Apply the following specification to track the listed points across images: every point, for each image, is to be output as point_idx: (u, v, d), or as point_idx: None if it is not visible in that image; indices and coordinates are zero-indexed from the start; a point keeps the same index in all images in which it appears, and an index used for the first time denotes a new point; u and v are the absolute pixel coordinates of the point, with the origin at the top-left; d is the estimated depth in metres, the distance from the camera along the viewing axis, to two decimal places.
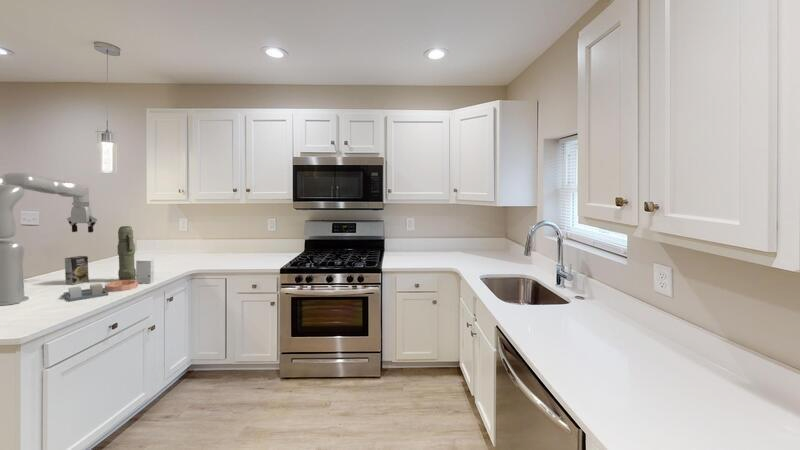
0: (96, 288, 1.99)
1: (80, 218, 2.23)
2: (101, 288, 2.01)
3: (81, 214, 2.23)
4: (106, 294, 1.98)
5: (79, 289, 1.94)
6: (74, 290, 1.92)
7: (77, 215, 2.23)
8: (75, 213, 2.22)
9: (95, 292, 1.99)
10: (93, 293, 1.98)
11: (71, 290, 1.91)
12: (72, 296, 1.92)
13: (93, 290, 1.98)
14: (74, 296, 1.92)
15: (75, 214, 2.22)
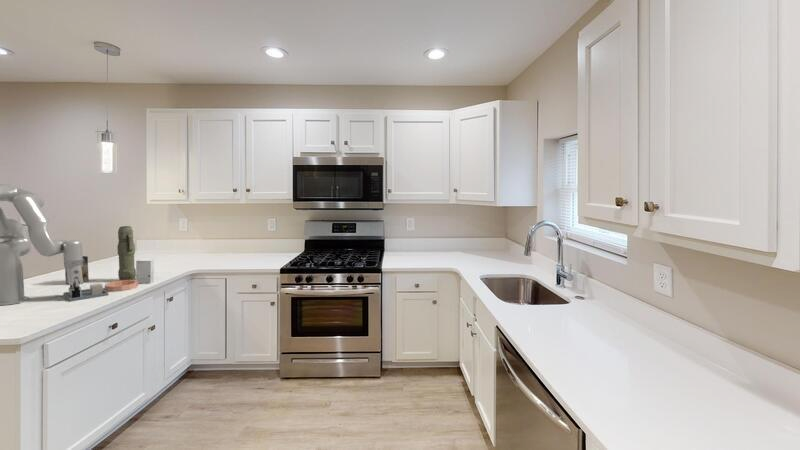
0: (96, 288, 1.99)
1: None
2: (101, 288, 2.01)
3: None
4: (106, 294, 1.98)
5: None
6: None
7: None
8: None
9: (95, 292, 1.99)
10: (93, 293, 1.98)
11: (71, 290, 1.91)
12: None
13: (93, 290, 1.98)
14: None
15: None
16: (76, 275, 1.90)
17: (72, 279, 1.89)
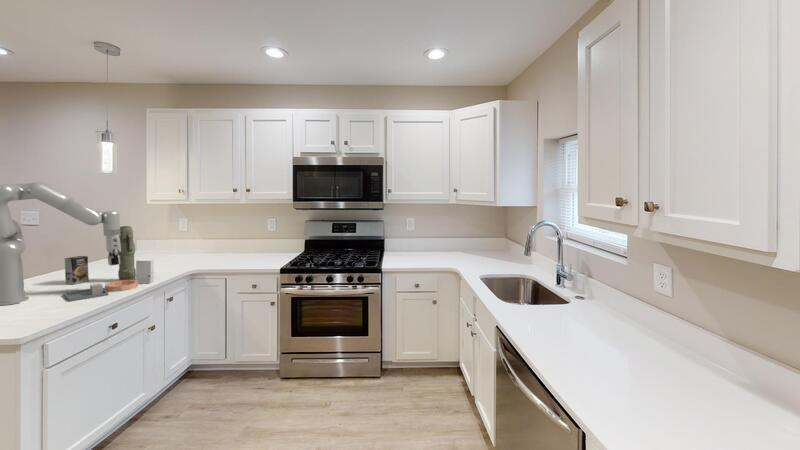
0: (96, 288, 1.99)
1: None
2: (101, 288, 2.01)
3: None
4: (106, 294, 1.98)
5: (118, 257, 2.08)
6: None
7: None
8: None
9: (95, 292, 1.99)
10: (93, 293, 1.98)
11: (111, 257, 2.05)
12: None
13: (93, 290, 1.98)
14: None
15: None
16: (115, 243, 2.04)
17: (111, 247, 2.03)
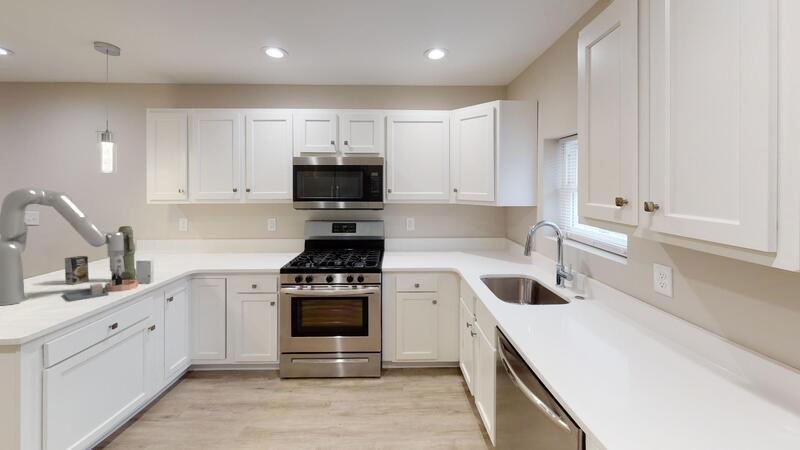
0: (96, 288, 1.99)
1: None
2: (101, 288, 2.01)
3: None
4: (106, 294, 1.98)
5: None
6: None
7: None
8: None
9: (95, 292, 1.99)
10: (93, 293, 1.98)
11: (114, 282, 2.08)
12: None
13: (93, 290, 1.98)
14: None
15: None
16: (118, 264, 2.06)
17: (115, 267, 2.05)
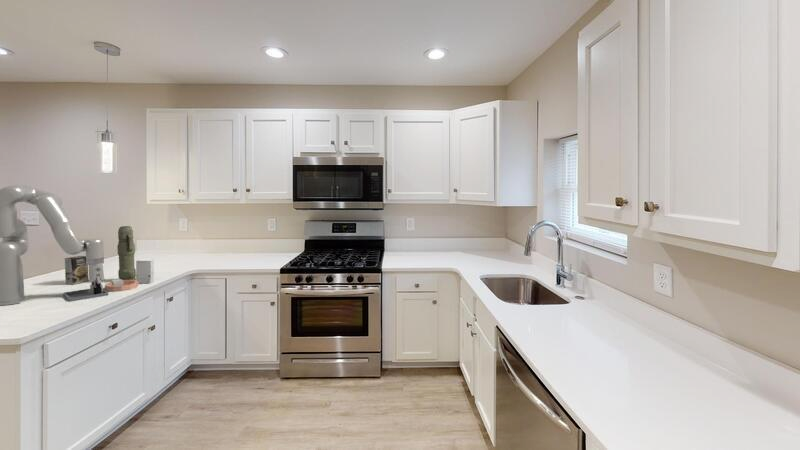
0: None
1: None
2: (101, 288, 2.01)
3: None
4: (106, 294, 1.98)
5: (121, 281, 2.10)
6: (117, 282, 2.09)
7: None
8: None
9: None
10: (93, 293, 1.98)
11: (114, 282, 2.08)
12: None
13: (93, 290, 1.98)
14: None
15: None
16: (98, 272, 1.97)
17: (94, 276, 1.96)
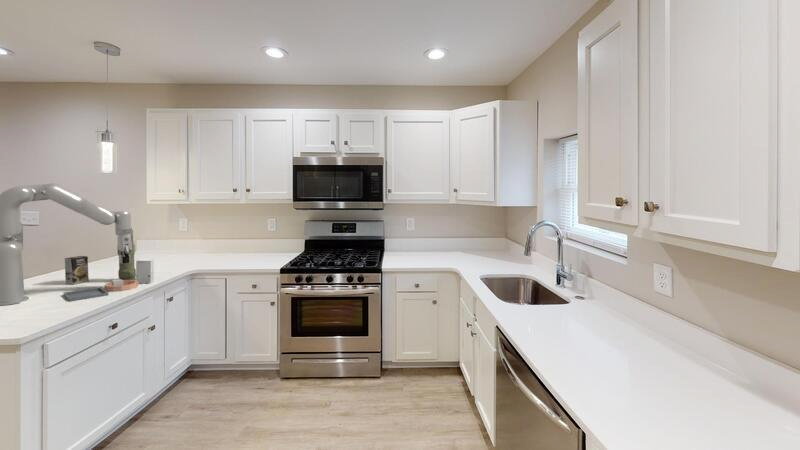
0: None
1: None
2: (129, 257, 2.15)
3: None
4: (106, 294, 1.98)
5: (121, 281, 2.10)
6: (117, 282, 2.09)
7: None
8: None
9: None
10: (122, 262, 2.12)
11: (114, 282, 2.08)
12: None
13: (122, 259, 2.12)
14: None
15: None
16: (126, 242, 2.11)
17: (123, 246, 2.10)
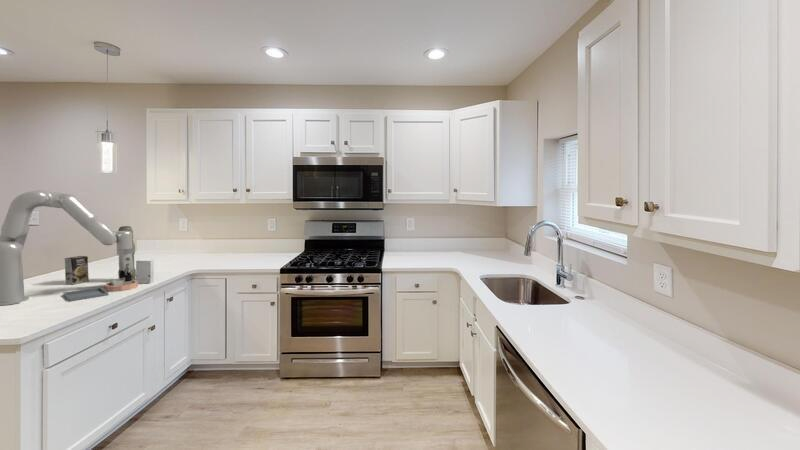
0: None
1: None
2: (131, 281, 2.16)
3: None
4: (106, 294, 1.98)
5: (121, 281, 2.10)
6: (117, 282, 2.09)
7: None
8: None
9: None
10: None
11: (114, 282, 2.08)
12: None
13: (124, 283, 2.14)
14: None
15: None
16: (127, 262, 2.12)
17: (124, 265, 2.11)
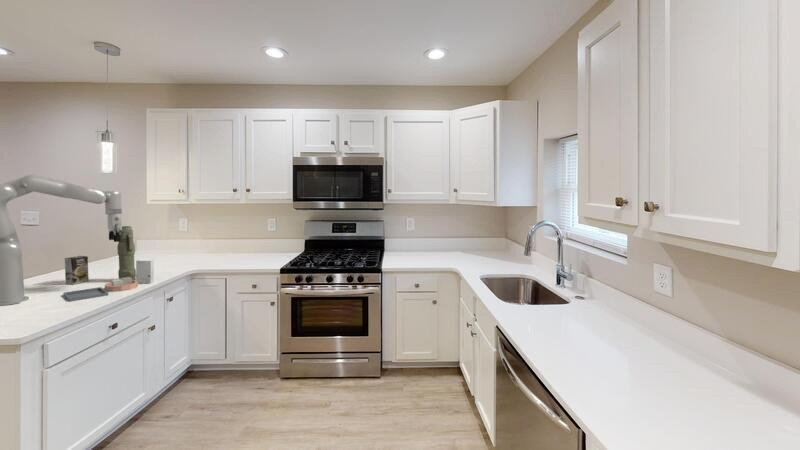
0: (126, 281, 2.15)
1: None
2: (131, 281, 2.16)
3: None
4: (106, 294, 1.98)
5: (121, 281, 2.10)
6: (117, 282, 2.09)
7: None
8: None
9: None
10: None
11: (114, 282, 2.08)
12: None
13: (124, 283, 2.14)
14: None
15: None
16: (116, 222, 2.10)
17: (113, 225, 2.09)
